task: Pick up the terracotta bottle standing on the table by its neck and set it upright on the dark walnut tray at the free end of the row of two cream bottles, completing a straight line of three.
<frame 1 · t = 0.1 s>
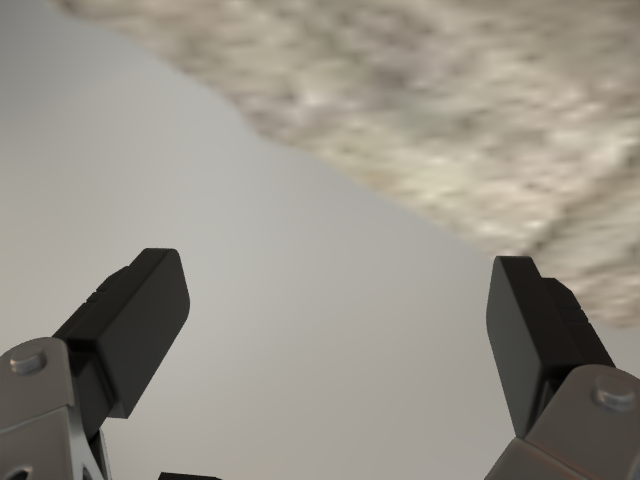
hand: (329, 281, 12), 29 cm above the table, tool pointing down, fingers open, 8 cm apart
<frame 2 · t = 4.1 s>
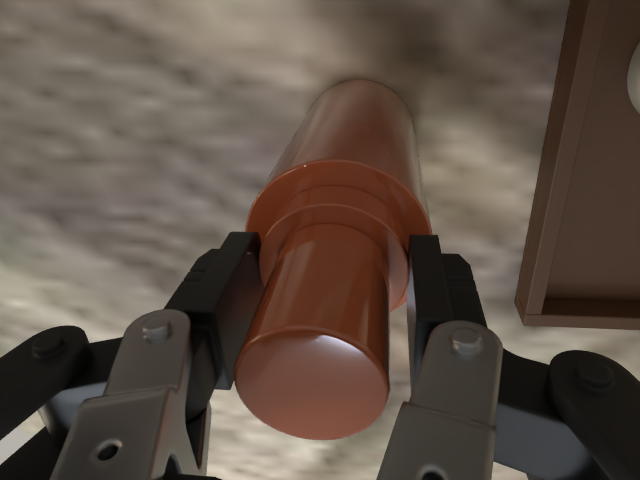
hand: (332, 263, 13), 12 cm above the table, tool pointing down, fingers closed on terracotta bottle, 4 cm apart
terracotta bottle: (358, 136, 23), on the table, touching gripper
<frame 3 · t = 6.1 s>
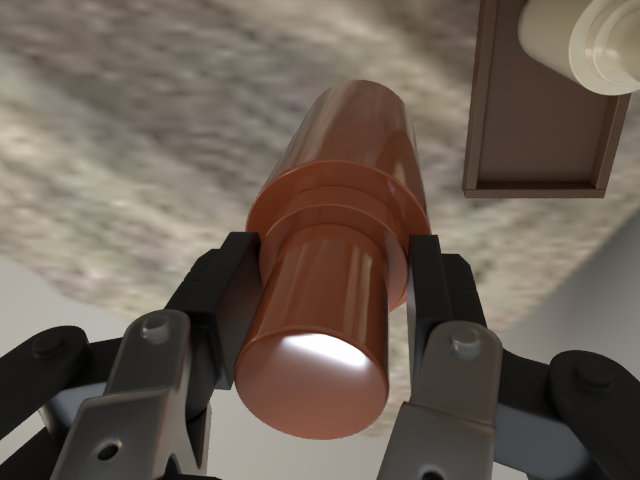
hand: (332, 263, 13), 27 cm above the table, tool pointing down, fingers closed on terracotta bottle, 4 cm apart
tray: (555, 21, 33), on the table
terracotta bottle: (358, 136, 23), point 16 cm above the table, touching gripper
cream bottle 2: (558, 21, 32), resting on tray
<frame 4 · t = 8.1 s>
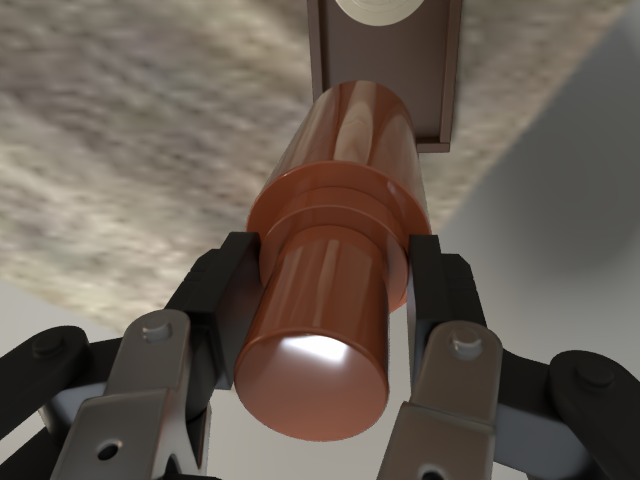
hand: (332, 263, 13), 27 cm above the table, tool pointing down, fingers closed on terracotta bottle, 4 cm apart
terracotta bottle: (358, 137, 23), point 16 cm above the table, touching gripper
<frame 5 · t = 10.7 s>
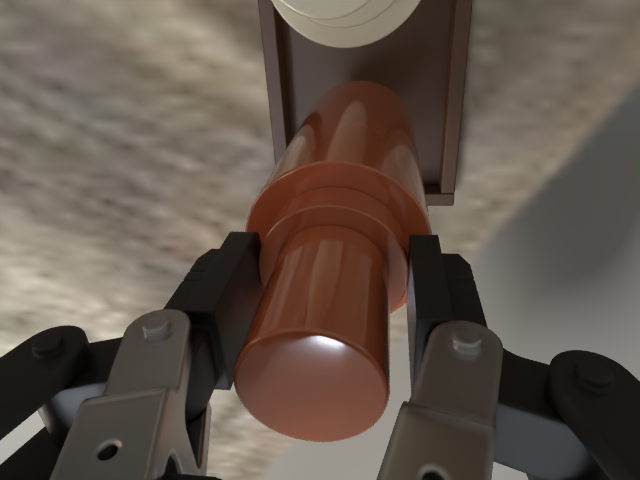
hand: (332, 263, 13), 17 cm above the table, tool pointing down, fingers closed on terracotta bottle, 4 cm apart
terracotta bottle: (358, 137, 23), point 5 cm above the table, touching gripper
when the fingers open (12 cm above the table, at t = 12.5 s): terracotta bottle stays where it is, resting on tray.
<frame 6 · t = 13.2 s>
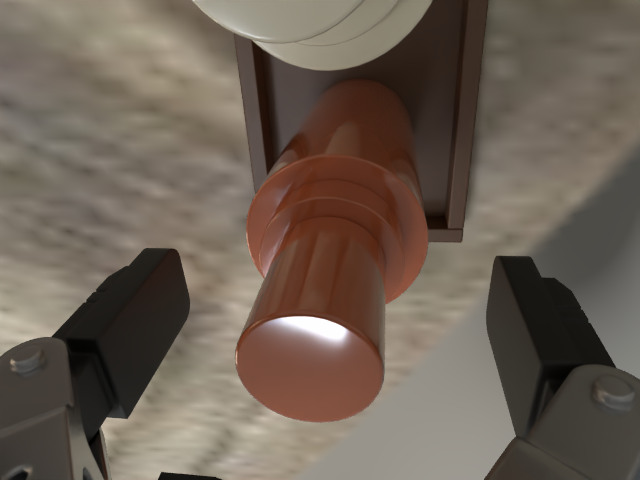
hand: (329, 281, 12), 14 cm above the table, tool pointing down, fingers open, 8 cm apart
terracotta bottle: (357, 134, 23), resting on tray
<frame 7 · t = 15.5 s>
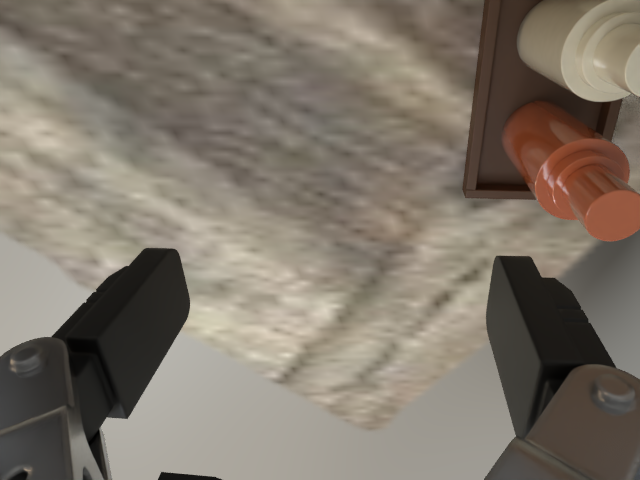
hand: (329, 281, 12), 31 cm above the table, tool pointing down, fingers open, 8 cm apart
tray: (552, 34, 35), on the table
terracotta bottle: (535, 133, 38), resting on tray
cream bottle 2: (554, 35, 35), resting on tray
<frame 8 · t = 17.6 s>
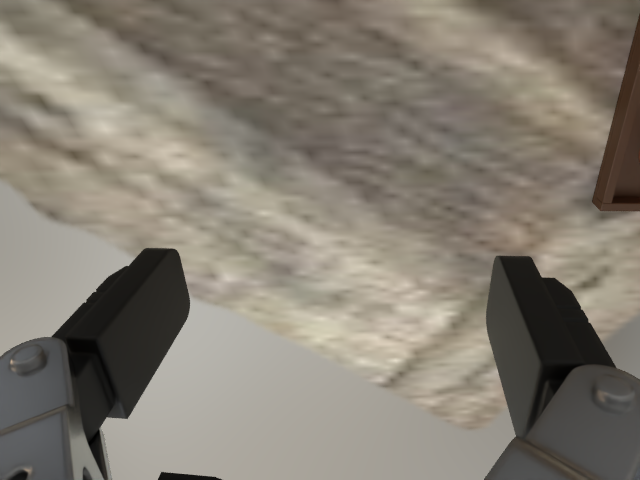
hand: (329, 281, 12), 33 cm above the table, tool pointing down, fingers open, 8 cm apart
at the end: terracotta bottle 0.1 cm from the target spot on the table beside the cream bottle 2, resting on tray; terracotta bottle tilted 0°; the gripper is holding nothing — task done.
